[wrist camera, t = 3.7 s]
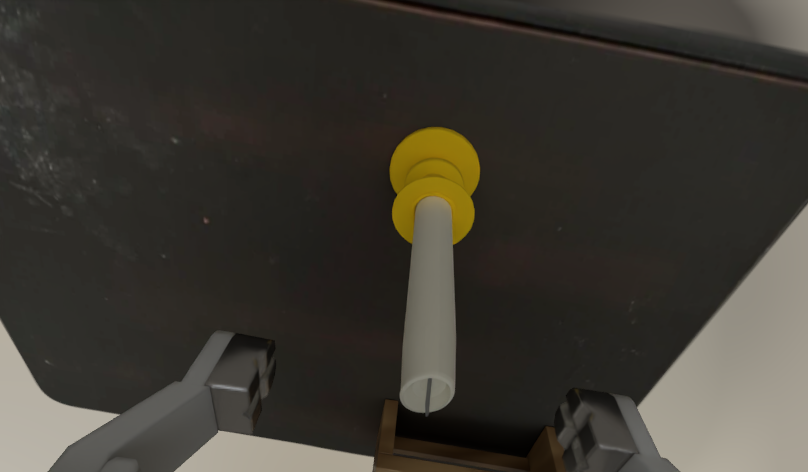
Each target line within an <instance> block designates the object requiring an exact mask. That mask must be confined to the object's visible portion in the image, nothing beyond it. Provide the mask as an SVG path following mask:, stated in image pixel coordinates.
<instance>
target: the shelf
mask: <svg viewBox="0 0 808 472" xmlns="http://www.w3.org/2000/svg"><path fill="white" fill-rule="evenodd" d="M397 409H398V401H394V400H388V399H385V403H384V408H383V412H382V417H381V421H380V426H379V431H378V436H377V443H376V450H375V457H374V464H373V471H372V472H492V471H486V470H480V469H474V468H467V467H461V466H455V465H449V464H443V463H437V462H431V461H425V460H419V459H413V458H407V457H401V456H395V455H393V453H398V454H404V455H410V456H416V457H422V458H428V459H434V460H440V461H446V462H452V463H458V464H464V465H470V466H476V467H483V468H489V469H495V470H501V471H507V472H566V471H565V467H564V464H563V460H562V456H563V453H564V448H563V447H562V445H561V444H560V443H559V442H558V441H557V438H556V434H555V428H554V427H548V426H545V428H544V430H543V431H542V433H541V434H540V436H539V437H538V439H537V441H536V442H535V444H534V445H533V447H532V449H531V450H530V452H529V453H528V455H527V456H526V458H522V457H516V456H510V455H504V454H498V453H492V452H486V451H480V450H474V449H468V448H462V447H456V446H450V445H444V444H438V443H432V442H426V441H420V440H414V439H408V438H402V437H396V436H395V429H396V419H397Z"/></svg>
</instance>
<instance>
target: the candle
mask: <svg viewBox="0 0 808 472" xmlns="http://www.w3.org/2000/svg"><path fill="white" fill-rule="evenodd" d="M389 169H390V180H391V183H392V186H393V189H394V190H395V192H396V193H397V197H396V198H395V200H394V204H393V208H392V218H393V222H394V225H395V227H396V229H397V231H398V232H399V233H400V235H401V236H402V237H403V238H404V239H406V240H407V241H408V242H409V243H411V244H412V254H411V264H410V275H409V285H408V296H407V306H406V317H405V327H404V338H403V348H402V372H401V391H400V400H401V402H402V404H403V405H404V406H405V407H406V408H407V409H409V410H411V411H414V412H419V413H425V416H426V417H427V416H428V415H429V412H434V411H437V410H439V409H442V408H443V407H445V406H446V405H447V404H448V403H449V402H450V401H451V400H452V398H453V396H454V393H455V366H456V322H455V294H454V266H453V244H455V243H457V242H459V241H460V240H461V239H462V238H464V237H465V236H466V234H467V233H468V232H469V230H470V229H471V227H472V224H473V221H474V211H475V210H474V206H473V202H472V199H471V198H470V196H471V195H472V194H473V192H474V191H475V189H476V187H477V184H478V181H479V176H480V165H479V160H478V156H477V153H476V151H475V149H474V148H473V146H472V144H471V143H470V142H469V141H468V140H467V139H466V138H465V137H464V136H463V135H461V134H459V133H457V132H455V131H454V130H451V129H447V128H443V127H427V128H424V129H420V130H416V131H415V132H413V133H411V134H410V135H408V136H406V137H405V138H404V139H403V140H402V141H401V142H400V143H399V145H398V146H397V148H396V150H395V151H394V153H393V155H392V159H391V164H390V168H389Z"/></svg>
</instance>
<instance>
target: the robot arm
mask: <svg viewBox="0 0 808 472" xmlns="http://www.w3.org/2000/svg"><path fill="white" fill-rule="evenodd" d="M274 351H275V340H270V339H265V338H259V337H254V336H249V335H244V334H238V333H232V332H227V331H221V330H217V331H216V332H215V333H213V334H212V335H211V337H210V338H209V340H208V341H207V343H206V345H205V346H204V348H203V349H202V351H201V352H200V354H199V355H198V357H197V358H196V360H195V361H194V363H193V365H192V366H191V368H190V369H189V371H188V372H187V374H186V375H185V377H184V378H183V380H182V381H181V382H178V381H175V382H173V383H171V384H170V385H168V386H167V387H165V388H163V389H162V390H160V391H158V392H157V393H155V394H153V395H152V396H150V397H149V398H147V399H145V400H144V401H142V402H140V403H139V404H137V405H135V406H134V407H132V408H131V409H129V410H127V411H126V412H124V413H122V414H121V415H119V416H117V417H116V418H114V419H113V420H111V421H109V422H108V423H106V424H104V425H103V426H101V427H100V428H98V429H96V430H94V431H93V432H91V433H90V434H88V435H86V436H85V437H83V438H81V439H80V440H78V441H77V442H75V443H73V444H72V445H70V446H68V447H67V449H66V450H65V451H64V452H63V453H62V455H61V456H60V457H59V458H58V460H57V461H56V462H55V463H54V465H53V466H52V467H51V468H50V470H49V471H48V472H174V471H175V470H176V469H177V468H178V467H179V466H181V465H182V464H183V463H184V462H185V461H186V460H187V459H189V458H190V457H191V456H192V455H193V454H194V453H195V452H196V451H198V450H199V449H200V448H201V447H202V446H203V445H204V444H205V443H207V442H208V441H209V440H210V439H211V438H212V437H213V436H215V435H216V434H217V433H218V430H220V431H228V432H236V433H244V434H252V432H253V430H254V428H255V425H256V423H257V421H258V418H259V416H260V413H261V411H262V406H261V400H262V399H263V398H265V397H266V396H267V395H268V394H269V392H270V389H271V386H272V383H273V380H274V376H275V370H276V359H275V358H274V357H273V353H274ZM566 398H567V402H565V403H563V404H561V405H560V406H559V407H558V409H557V411H556V413H555V420H554V427H555V434H556V438H557V441H558V442H559V443H560V444H561V445H562V447H563V448H564V449H565V451H564V453H563V456H562V460H563V464H564V467H565V471H566V472H680V471H679V470H678V469H677V468H676V467H675V466H674V465H673V464H671V462H670V461H669V460H667V459H666V458H661V457H660V455H659V453H658V451H657V448H656V447H655V444H654V442H653V440H652V438H651V436H650V434H649V432H648V430H647V428H646V426H645V424H644V422H643V420H642V418H641V416H640V413H639V412H638V409H637V407H636V405H635V403H634V401H633V400H632V399H631V398H630V397H628V396H622V395H616V394H609V393H606V392H599V391H592V390H585V389H579V388H572V389H570V390H569V391H568V393H567V395H566Z"/></svg>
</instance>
